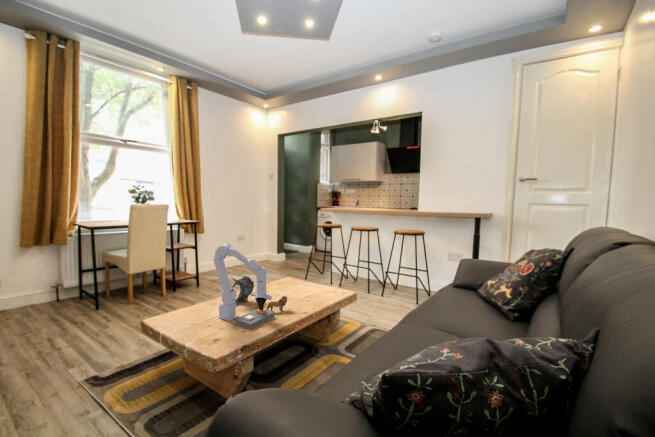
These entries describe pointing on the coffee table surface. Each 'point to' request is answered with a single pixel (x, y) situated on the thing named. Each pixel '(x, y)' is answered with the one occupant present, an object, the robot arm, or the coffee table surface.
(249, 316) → the cream cube
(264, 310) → the salmon pink block
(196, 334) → the coffee table surface
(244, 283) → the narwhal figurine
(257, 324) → the button housing
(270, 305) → the lion figurine
